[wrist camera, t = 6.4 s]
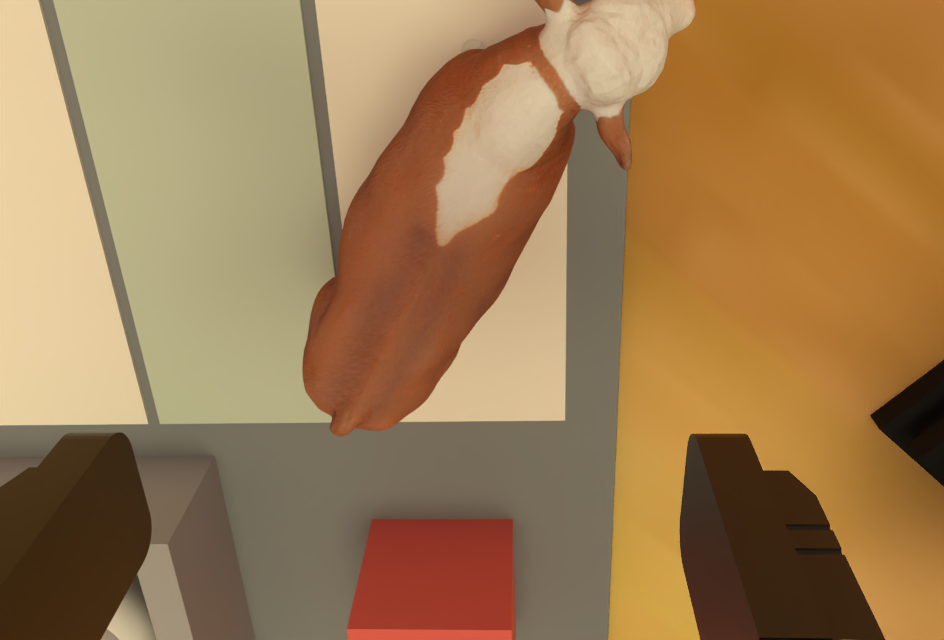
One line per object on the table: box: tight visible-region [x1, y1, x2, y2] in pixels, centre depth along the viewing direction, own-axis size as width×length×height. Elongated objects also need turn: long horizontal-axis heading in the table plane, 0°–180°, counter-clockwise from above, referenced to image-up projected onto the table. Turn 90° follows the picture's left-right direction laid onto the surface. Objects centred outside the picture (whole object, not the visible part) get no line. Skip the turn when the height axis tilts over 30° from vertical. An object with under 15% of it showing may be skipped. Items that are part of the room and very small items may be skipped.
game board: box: [0, 0, 631, 640], centre depth 26 cm, size 29×31×6 cm
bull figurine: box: [302, 0, 696, 437], centre depth 21 cm, size 4×13×8 cm, turn 146°
